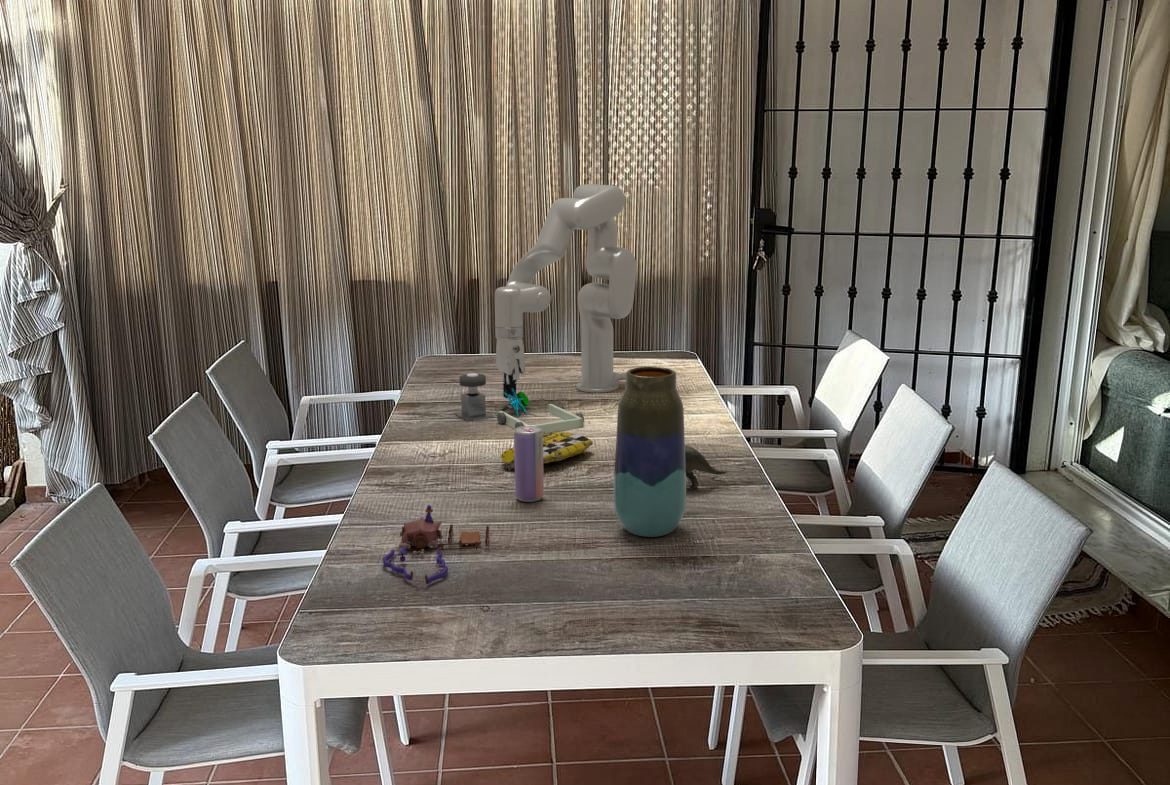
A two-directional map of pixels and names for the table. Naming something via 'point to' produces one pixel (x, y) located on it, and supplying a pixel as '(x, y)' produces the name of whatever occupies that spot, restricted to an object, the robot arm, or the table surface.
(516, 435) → the beverage can
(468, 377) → the wheel
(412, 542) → the playset
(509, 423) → the chassis bay
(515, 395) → the stick construction toy
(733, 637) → the table surface
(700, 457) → the dinosaur figurine
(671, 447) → the vase
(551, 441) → the toy spacecraft
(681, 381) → the table surface
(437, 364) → the table surface
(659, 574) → the table surface
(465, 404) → the axle mount
